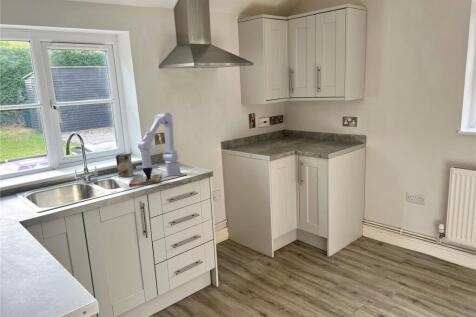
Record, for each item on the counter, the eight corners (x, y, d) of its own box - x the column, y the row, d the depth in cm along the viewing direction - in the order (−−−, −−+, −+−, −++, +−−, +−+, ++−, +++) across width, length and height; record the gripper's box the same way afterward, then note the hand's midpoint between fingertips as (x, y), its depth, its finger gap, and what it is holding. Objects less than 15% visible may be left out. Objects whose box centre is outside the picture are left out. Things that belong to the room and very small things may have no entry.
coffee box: (118, 177, 256) (114, 155, 253) (121, 175, 263) (118, 154, 259) (130, 176, 255) (127, 155, 252) (133, 174, 262) (130, 153, 258)
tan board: (161, 175, 252) (161, 173, 252) (158, 183, 231) (158, 181, 231) (133, 178, 250) (133, 176, 250) (129, 186, 229) (128, 184, 228)
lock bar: (144, 177, 240) (143, 174, 240) (148, 177, 241) (147, 174, 240) (142, 181, 230) (142, 178, 230) (146, 181, 230) (146, 177, 230)
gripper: (133, 161, 228) (136, 181, 230) (155, 159, 226) (158, 180, 229) (137, 158, 234) (139, 178, 237) (158, 157, 233) (161, 177, 236)
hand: (149, 179), depth 234 cm, fingers closed
